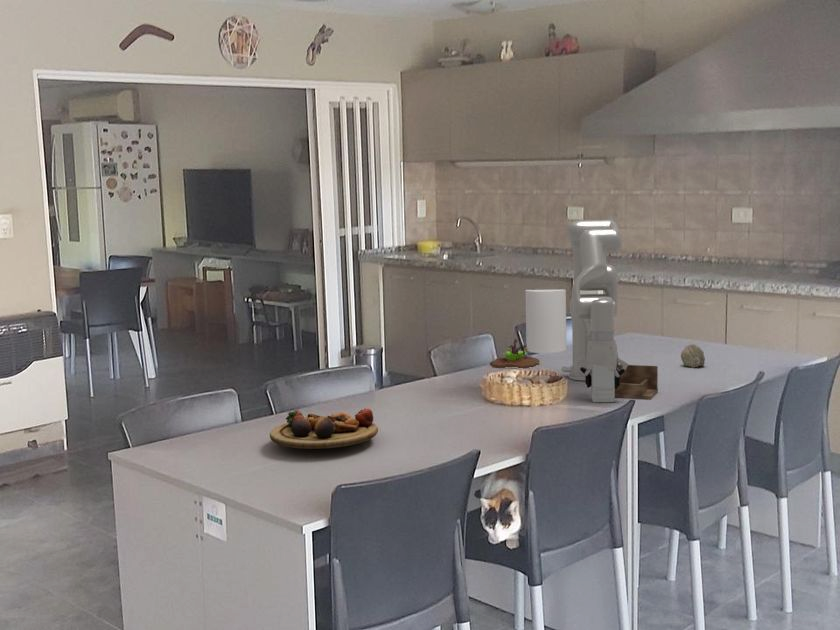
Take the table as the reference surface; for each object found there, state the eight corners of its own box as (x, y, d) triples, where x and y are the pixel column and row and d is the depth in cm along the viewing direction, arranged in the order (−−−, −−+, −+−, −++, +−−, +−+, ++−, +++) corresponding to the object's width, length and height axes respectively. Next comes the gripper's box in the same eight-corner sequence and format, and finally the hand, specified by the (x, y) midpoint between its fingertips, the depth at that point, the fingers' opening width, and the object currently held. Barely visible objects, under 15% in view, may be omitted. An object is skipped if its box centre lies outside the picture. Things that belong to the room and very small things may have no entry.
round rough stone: (707, 370, 376) (707, 345, 375) (684, 371, 376) (684, 345, 375) (700, 366, 385) (700, 341, 384) (678, 367, 386) (678, 342, 384)
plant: (544, 363, 406) (544, 336, 404) (534, 371, 387) (534, 343, 386) (497, 362, 412) (497, 335, 411) (485, 370, 394) (485, 342, 393)
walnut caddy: (597, 396, 335) (597, 370, 334) (606, 389, 347) (606, 363, 346) (650, 399, 328) (650, 372, 327) (657, 391, 340) (657, 365, 338)
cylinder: (565, 357, 417) (564, 291, 414) (524, 356, 421) (523, 291, 417) (567, 350, 434) (566, 287, 431) (528, 350, 438) (527, 288, 434)
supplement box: (612, 397, 332) (612, 361, 330) (614, 402, 325) (614, 364, 323) (590, 398, 333) (590, 361, 331) (592, 402, 325) (592, 365, 324)
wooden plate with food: (379, 422, 308) (378, 396, 307) (377, 448, 277) (375, 419, 276) (277, 426, 308) (275, 400, 307) (263, 452, 276) (261, 423, 275)
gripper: (573, 337, 326) (574, 388, 328) (626, 338, 319) (626, 391, 321) (579, 334, 333) (580, 384, 335) (630, 335, 326) (631, 386, 328)
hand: (602, 387), depth 328 cm, fingers closed on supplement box, 8 cm apart
